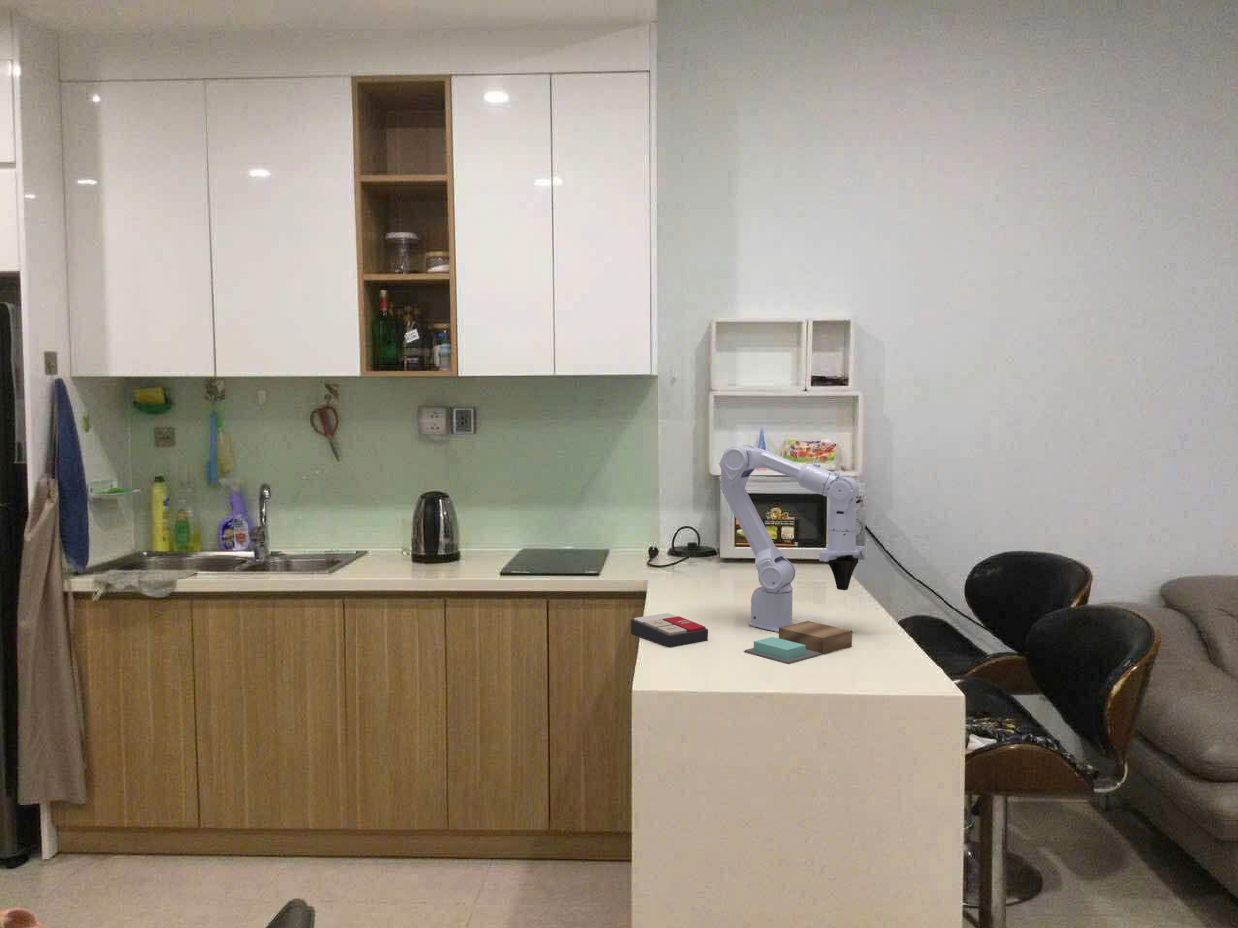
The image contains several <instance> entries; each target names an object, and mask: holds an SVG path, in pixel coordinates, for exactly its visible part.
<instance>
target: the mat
mask: <svg viewBox="0 0 1238 928" xmlns="http://www.w3.org/2000/svg"><path fill="white" fill-rule="evenodd" d="M743 652H744V653H747V654H750V655H754V656H758V657H762V658H765V659H768V660H772V661H777V662H780V663H784V664H787V665H790V664H794V663H798V662H802V661H804V660H805V661H806V660H808V659H812V658H817V657H819V656H822V654H821V653H819V652H815V651H811V650H807V649H806V655H802V656H799V657H795V658H791V659H788V660H786V659H783V658H779V657H775V656H771V655H768V654H764V653H760V652H756V651H754V647H751V648H747V649H744V651H743Z"/></svg>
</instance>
